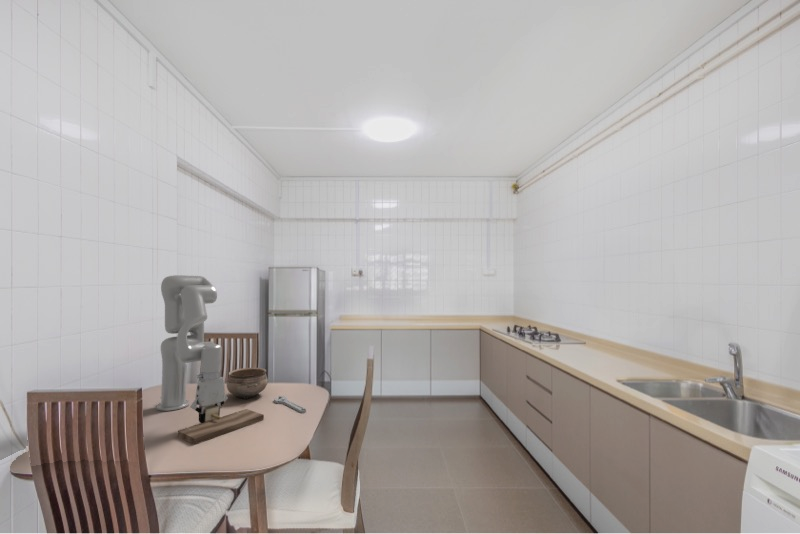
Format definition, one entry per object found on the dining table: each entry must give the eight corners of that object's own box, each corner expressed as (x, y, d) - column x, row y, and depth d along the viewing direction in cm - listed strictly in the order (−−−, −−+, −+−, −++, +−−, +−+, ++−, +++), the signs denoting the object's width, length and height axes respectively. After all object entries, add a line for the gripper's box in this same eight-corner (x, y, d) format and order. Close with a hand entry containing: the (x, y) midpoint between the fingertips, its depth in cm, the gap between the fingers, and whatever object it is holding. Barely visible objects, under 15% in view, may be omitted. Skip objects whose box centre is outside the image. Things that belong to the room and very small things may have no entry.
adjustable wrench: (307, 413, 158) (307, 409, 159) (293, 416, 154) (294, 412, 154) (283, 398, 177) (284, 394, 177) (271, 401, 173) (271, 397, 173)
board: (177, 436, 132) (177, 430, 132) (246, 413, 156) (246, 408, 156) (194, 444, 126) (194, 438, 126) (263, 419, 149) (263, 414, 149)
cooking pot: (274, 399, 175) (274, 374, 175) (232, 407, 163) (233, 380, 164) (259, 387, 195) (260, 364, 195) (221, 393, 183) (222, 369, 184)
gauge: (199, 422, 144) (200, 407, 145) (211, 418, 148) (212, 404, 149) (211, 428, 139) (212, 412, 139) (224, 424, 143) (224, 408, 143)
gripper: (193, 381, 137) (191, 429, 136) (235, 372, 151) (234, 416, 150) (184, 378, 141) (182, 425, 140) (225, 369, 155) (224, 412, 154)
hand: (209, 420), depth 145 cm, fingers closed on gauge, 5 cm apart
